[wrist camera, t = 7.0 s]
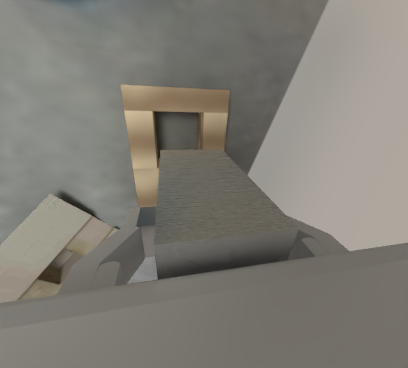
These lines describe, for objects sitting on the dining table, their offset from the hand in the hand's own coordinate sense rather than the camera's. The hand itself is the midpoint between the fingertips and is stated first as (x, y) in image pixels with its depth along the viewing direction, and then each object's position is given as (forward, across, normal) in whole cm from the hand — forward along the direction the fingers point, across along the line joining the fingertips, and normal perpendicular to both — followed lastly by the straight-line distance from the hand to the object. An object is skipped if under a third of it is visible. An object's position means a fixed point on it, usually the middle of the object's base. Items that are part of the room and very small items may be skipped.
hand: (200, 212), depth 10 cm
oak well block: (+19, 0, +3) cm, 19 cm away
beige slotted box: (+19, +18, +18) cm, 32 cm away
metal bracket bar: (+4, 0, 0) cm, 4 cm away
